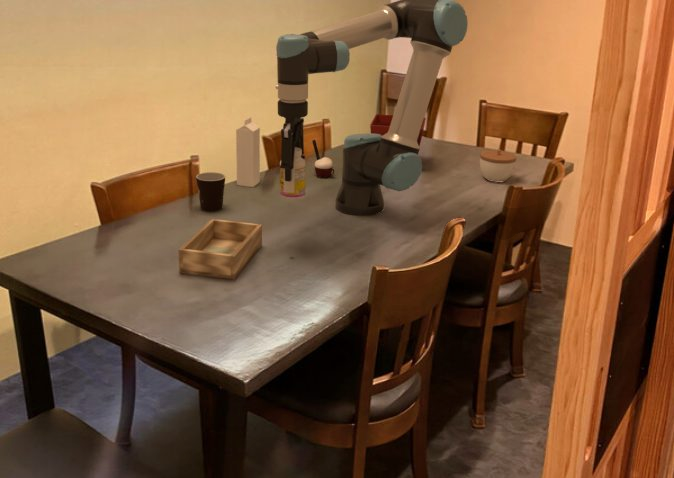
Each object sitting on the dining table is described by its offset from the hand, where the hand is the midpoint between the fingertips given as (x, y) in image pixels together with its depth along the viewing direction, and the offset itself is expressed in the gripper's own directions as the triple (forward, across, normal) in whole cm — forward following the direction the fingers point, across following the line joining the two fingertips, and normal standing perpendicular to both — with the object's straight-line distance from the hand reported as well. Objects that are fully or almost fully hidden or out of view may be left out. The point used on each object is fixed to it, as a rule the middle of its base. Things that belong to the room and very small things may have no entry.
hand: (292, 187), depth 183 cm
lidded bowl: (+18, -79, +54) cm, 98 cm away
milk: (+16, -46, -28) cm, 56 cm away
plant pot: (+18, -86, +17) cm, 90 cm away
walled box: (+15, +15, -14) cm, 26 cm away
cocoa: (+17, -63, -6) cm, 66 cm away
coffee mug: (+16, -21, -30) cm, 41 cm away
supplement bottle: (+3, 0, 0) cm, 3 cm away
